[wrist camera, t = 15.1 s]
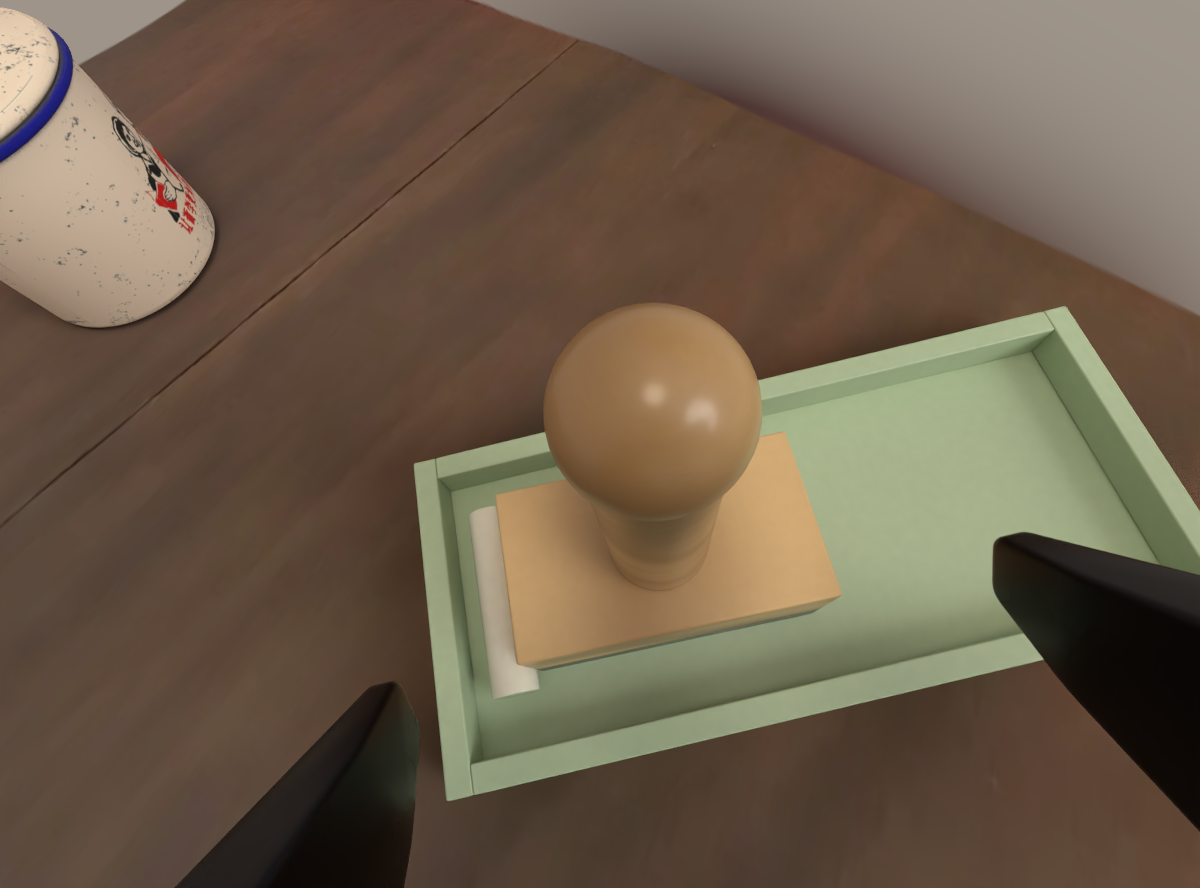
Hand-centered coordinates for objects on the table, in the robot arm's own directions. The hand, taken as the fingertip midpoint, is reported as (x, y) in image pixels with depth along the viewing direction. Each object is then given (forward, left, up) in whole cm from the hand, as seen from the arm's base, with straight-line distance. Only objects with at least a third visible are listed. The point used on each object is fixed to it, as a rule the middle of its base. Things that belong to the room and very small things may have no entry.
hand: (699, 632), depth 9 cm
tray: (-1, -5, -12) cm, 13 cm away
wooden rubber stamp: (+2, -2, -11) cm, 12 cm away
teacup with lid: (+34, -3, -12) cm, 36 cm away
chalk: (+6, +1, -10) cm, 12 cm away
